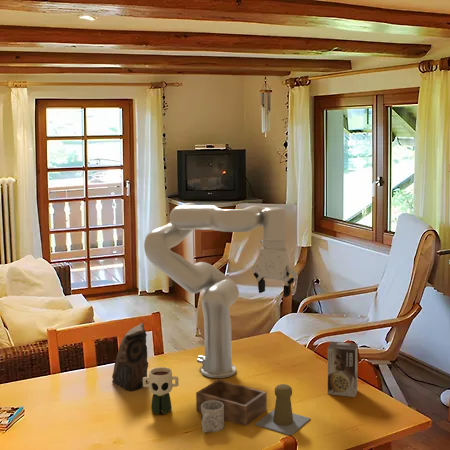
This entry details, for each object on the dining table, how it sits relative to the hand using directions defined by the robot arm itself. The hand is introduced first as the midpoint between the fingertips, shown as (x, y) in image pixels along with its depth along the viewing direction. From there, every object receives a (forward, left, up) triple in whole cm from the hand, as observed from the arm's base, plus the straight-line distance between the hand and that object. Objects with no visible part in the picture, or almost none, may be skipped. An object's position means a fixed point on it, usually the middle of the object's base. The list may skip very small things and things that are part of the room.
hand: (274, 294), depth 215 cm
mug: (+2, -41, -31) cm, 51 cm away
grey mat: (+18, -26, -30) cm, 44 cm away
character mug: (-17, -40, -31) cm, 53 cm away
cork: (+18, -26, -30) cm, 44 cm away
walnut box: (+1, -28, -30) cm, 41 cm away
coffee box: (+24, +3, -31) cm, 39 cm away
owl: (-40, -29, -31) cm, 58 cm away
